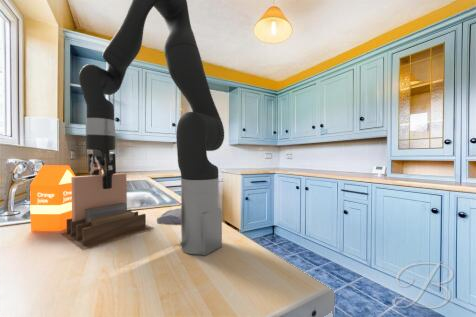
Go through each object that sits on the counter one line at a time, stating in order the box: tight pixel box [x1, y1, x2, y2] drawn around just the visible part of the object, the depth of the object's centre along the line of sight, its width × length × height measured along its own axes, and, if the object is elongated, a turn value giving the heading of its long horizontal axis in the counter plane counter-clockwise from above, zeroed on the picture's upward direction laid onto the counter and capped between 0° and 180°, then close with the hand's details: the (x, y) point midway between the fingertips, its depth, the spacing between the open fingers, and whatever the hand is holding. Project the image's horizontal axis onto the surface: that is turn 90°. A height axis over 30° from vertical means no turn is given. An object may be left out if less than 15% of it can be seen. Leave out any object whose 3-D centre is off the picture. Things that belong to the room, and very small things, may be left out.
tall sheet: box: [71, 172, 128, 222], centre depth 63 cm, size 2×14×16 cm, turn 144°
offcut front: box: [91, 210, 135, 226], centre depth 58 cm, size 3×10×5 cm, turn 144°
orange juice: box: [29, 164, 76, 232], centre depth 64 cm, size 8×9×20 cm
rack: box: [59, 209, 155, 251], centre depth 60 cm, size 18×18×5 cm
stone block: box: [156, 208, 181, 225], centre depth 72 cm, size 12×5×10 cm
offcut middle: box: [85, 203, 128, 223], centre depth 61 cm, size 3×10×7 cm, turn 144°
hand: (101, 187), depth 64 cm, fingers open, 8 cm apart
